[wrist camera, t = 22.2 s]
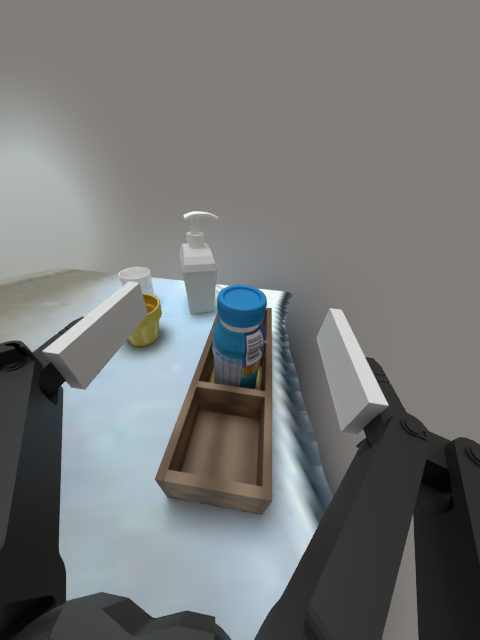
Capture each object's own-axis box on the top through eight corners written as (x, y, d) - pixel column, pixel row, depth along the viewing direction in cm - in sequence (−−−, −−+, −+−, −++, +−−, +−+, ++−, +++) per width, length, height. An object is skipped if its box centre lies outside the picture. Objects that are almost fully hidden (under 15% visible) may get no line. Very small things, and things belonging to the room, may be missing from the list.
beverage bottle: (210, 402, 35) (205, 311, 23) (216, 364, 42) (215, 279, 29) (257, 404, 35) (277, 316, 23) (255, 367, 42) (270, 283, 30)
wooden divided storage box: (167, 496, 26) (154, 479, 21) (221, 326, 54) (221, 302, 49) (263, 514, 25) (274, 501, 20) (267, 332, 53) (272, 308, 48)
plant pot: (173, 327, 52) (167, 295, 46) (153, 356, 44) (143, 322, 38) (137, 321, 53) (127, 289, 47) (111, 348, 45) (95, 314, 39)
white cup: (149, 311, 57) (141, 280, 51) (123, 308, 57) (111, 277, 51) (161, 297, 63) (154, 268, 57) (137, 295, 63) (128, 265, 57)
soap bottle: (223, 314, 58) (224, 218, 42) (188, 318, 55) (176, 218, 40) (214, 293, 67) (213, 208, 51) (184, 296, 65) (173, 207, 49)
